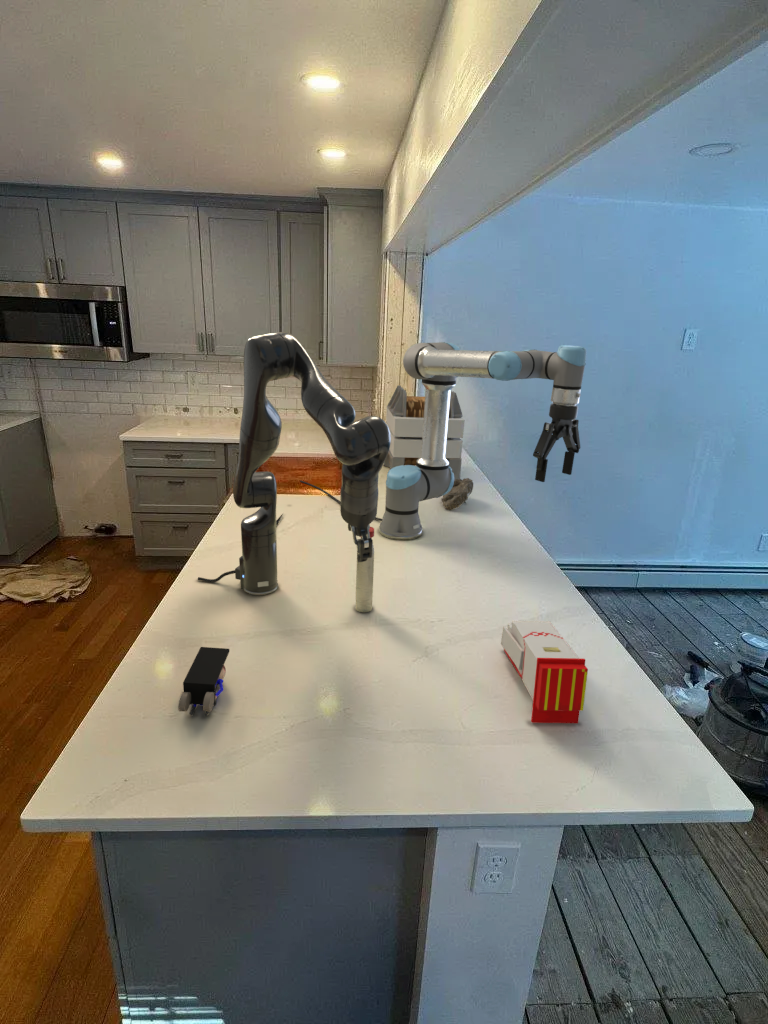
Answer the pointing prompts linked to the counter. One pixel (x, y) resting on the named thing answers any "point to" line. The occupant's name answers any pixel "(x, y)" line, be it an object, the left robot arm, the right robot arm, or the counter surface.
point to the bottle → (364, 584)
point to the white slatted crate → (420, 430)
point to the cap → (370, 532)
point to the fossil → (457, 493)
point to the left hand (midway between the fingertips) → (357, 544)
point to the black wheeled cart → (204, 680)
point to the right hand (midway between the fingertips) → (553, 477)
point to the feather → (278, 519)
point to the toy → (547, 670)
